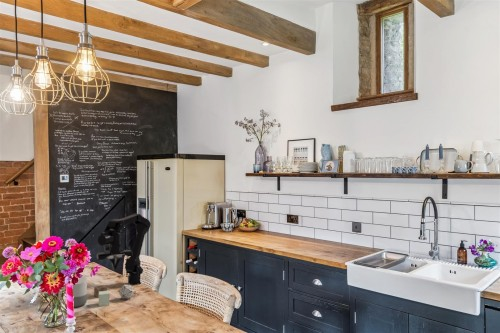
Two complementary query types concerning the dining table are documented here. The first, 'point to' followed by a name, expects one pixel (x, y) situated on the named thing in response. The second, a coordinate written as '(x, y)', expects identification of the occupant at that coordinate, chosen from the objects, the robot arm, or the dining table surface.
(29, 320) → the dining table surface
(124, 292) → the game die
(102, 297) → the sage block
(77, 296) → the smart speaker
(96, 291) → the walnut cube
